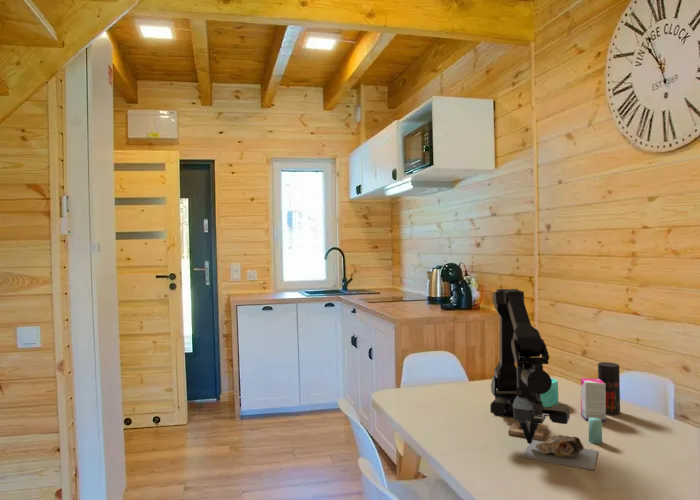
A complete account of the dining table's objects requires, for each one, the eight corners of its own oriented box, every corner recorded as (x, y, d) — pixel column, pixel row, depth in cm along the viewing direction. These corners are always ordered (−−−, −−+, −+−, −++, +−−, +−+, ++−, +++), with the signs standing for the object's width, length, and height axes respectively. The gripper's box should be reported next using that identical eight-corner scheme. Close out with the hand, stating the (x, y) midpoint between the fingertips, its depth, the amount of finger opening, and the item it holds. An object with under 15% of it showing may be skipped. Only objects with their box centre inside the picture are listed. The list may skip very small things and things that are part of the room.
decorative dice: (532, 399, 170) (532, 376, 170) (557, 401, 167) (557, 377, 167) (532, 406, 162) (531, 382, 162) (558, 408, 159) (558, 383, 159)
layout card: (522, 457, 123) (522, 455, 123) (531, 440, 133) (531, 439, 133) (593, 470, 115) (593, 469, 115) (597, 451, 125) (597, 450, 125)
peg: (588, 442, 131) (587, 420, 131) (589, 438, 134) (588, 416, 134) (601, 445, 129) (601, 422, 129) (602, 440, 132) (602, 418, 132)
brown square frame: (508, 434, 138) (508, 430, 138) (515, 424, 146) (515, 420, 146) (542, 440, 133) (542, 435, 133) (547, 429, 141) (547, 425, 141)
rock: (584, 451, 125) (545, 435, 131) (587, 432, 123) (547, 416, 129) (574, 471, 119) (532, 453, 125) (576, 451, 117) (534, 434, 123)
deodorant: (594, 409, 157) (594, 362, 157) (612, 408, 158) (611, 361, 158) (606, 415, 152) (605, 367, 152) (624, 414, 152) (623, 366, 152)
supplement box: (606, 421, 146) (605, 383, 146) (585, 420, 148) (584, 382, 148) (600, 415, 152) (600, 378, 152) (580, 414, 153) (579, 377, 153)
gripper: (484, 386, 126) (485, 447, 125) (563, 395, 116) (564, 462, 116) (495, 376, 135) (496, 433, 135) (569, 384, 126) (570, 445, 126)
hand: (529, 443), depth 128 cm, fingers closed
